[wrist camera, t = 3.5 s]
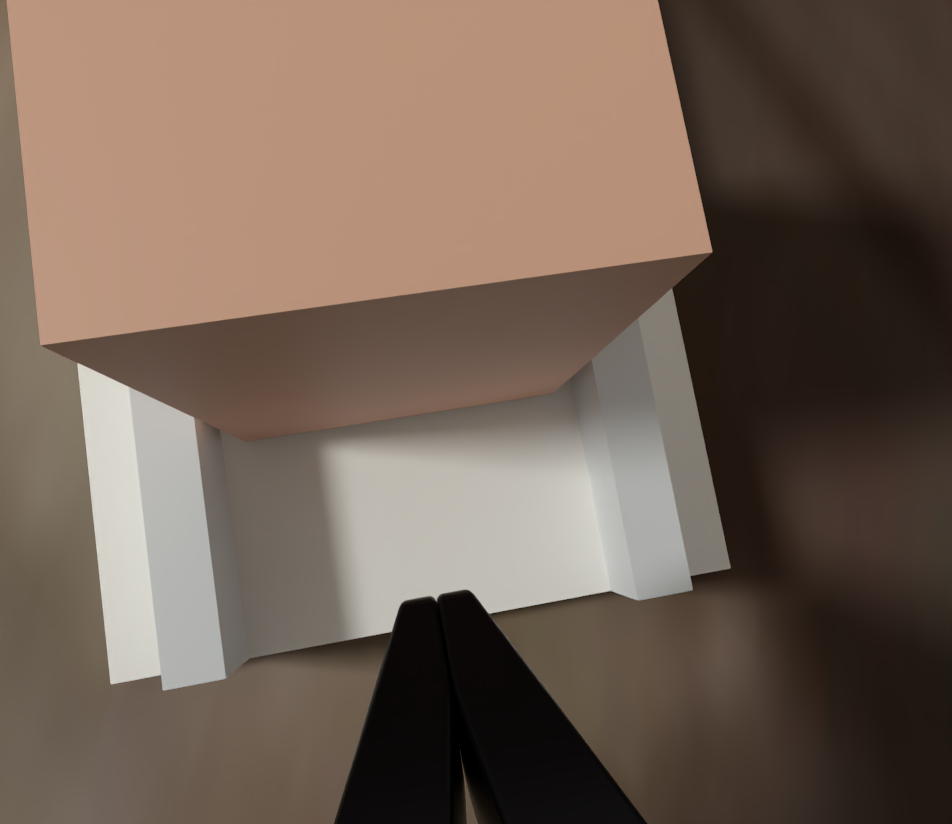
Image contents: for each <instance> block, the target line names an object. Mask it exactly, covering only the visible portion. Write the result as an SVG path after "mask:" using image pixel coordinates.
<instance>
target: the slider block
mask: <svg viewBox="0 0 952 824" xmlns="http://www.w3.org/2000/svg"><path fill="white" fill-rule="evenodd" d="M7 8H8V19H9V29H10V39H11V49H12V60H13V70H14V80H15V90H16V100H17V111H18V121H19V131H20V141H21V152H22V162H23V172H24V182H25V193H26V203H27V213H28V223H29V234H30V244H31V254H32V264H33V275H34V285H35V295H36V305H37V316H38V326H39V336H40V345H41V346H43V347H45V348H47V349H49V350H51V351H54V352H56V353H58V354H60V355H62V356H64V357H66V358H68V359H71V360H73V361H75V362H77V363H79V364H81V365H83V366H85V367H88V368H90V369H92V370H94V371H96V372H98V373H100V374H102V375H105V376H107V377H109V378H111V379H113V380H115V381H117V382H119V383H122V384H124V385H126V386H128V387H130V388H132V389H134V390H137V391H139V392H141V393H143V394H145V395H147V396H149V397H151V398H154V399H156V400H158V401H160V402H162V403H164V404H166V405H168V406H171V407H173V408H175V409H177V410H179V411H181V412H183V413H185V414H188V415H190V416H192V417H194V418H196V419H198V420H200V421H202V422H205V423H207V424H209V425H211V426H213V427H215V428H217V429H219V430H222V431H224V432H226V433H228V434H230V435H232V436H234V437H236V438H239V439H241V440H243V441H245V442H248V441H254V440H261V439H267V438H273V437H280V436H286V435H293V434H299V433H305V432H312V431H318V430H325V429H331V428H337V427H344V426H350V425H357V424H363V423H369V422H376V421H382V420H389V419H395V418H401V417H408V416H414V415H421V414H427V413H433V412H440V411H446V410H453V409H459V408H465V407H472V406H478V405H485V404H491V403H497V402H504V401H510V400H517V399H523V398H530V397H536V396H542V395H549V394H553V393H554V392H555V391H556V390H557V389H558V388H560V387H561V386H562V385H563V384H564V383H565V382H566V381H567V380H569V379H570V378H571V377H572V376H573V375H574V374H575V373H577V372H578V371H579V370H580V369H581V368H582V367H583V366H584V365H586V364H587V363H588V362H589V361H590V360H591V359H592V358H594V357H595V356H596V355H597V354H598V353H599V352H600V351H601V350H603V349H604V348H605V347H606V346H607V345H608V344H609V343H610V342H612V341H613V340H614V339H615V338H616V337H617V336H618V335H620V334H621V333H622V332H623V331H624V330H625V329H626V328H627V327H629V326H630V325H631V324H632V323H633V322H634V321H635V320H637V319H638V318H639V317H640V316H641V315H642V314H643V313H644V312H646V311H647V310H648V309H649V308H650V307H651V306H652V305H653V304H655V303H656V302H657V301H658V300H659V299H660V298H661V297H663V296H664V295H665V294H666V293H667V292H668V291H669V290H670V289H672V288H673V287H674V286H675V285H676V284H677V283H678V282H680V281H681V280H682V279H683V278H684V277H685V276H686V275H687V274H689V273H690V272H691V271H692V270H693V269H694V268H695V267H696V266H698V265H699V264H700V263H701V262H702V261H703V260H704V259H706V258H707V257H708V256H709V255H710V254H711V253H712V247H711V243H710V238H709V234H708V229H707V224H706V220H705V215H704V211H703V206H702V201H701V197H700V192H699V188H698V183H697V178H696V174H695V169H694V165H693V160H692V155H691V151H690V146H689V142H688V137H687V133H686V128H685V123H684V119H683V114H682V110H681V105H680V100H679V96H678V91H677V87H676V82H675V77H674V73H673V68H672V64H671V59H670V54H669V50H668V45H667V41H666V36H665V31H664V27H663V22H662V18H661V13H660V9H659V4H658V0H7Z"/></svg>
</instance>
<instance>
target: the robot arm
mask: <svg viewBox="0 0 952 824" xmlns="http://www.w3.org/2000/svg"><path fill="white" fill-rule="evenodd" d="M459 746H460V747H459ZM460 752H461V754H460ZM461 758H462V761H461ZM462 763H463V768H464V773H465V778H466V782H467V786H468V790H469V794H470V798H471V801H472V805H473V808H474V812H475V815H476V819H477V822H478V824H647V823H646V821H645V820H644V819H643V817H642V816H641V815H640V813H639V812H638V811H637V809H636V808H635V807H634V805H633V804H632V803H631V801H630V800H629V799H628V797H627V796H626V795H625V793H624V792H623V791H622V789H621V788H620V787H619V786H618V784H617V783H616V782H615V780H614V779H613V778H612V776H611V775H610V774H609V772H608V771H607V770H606V768H605V767H604V766H603V764H602V763H601V762H600V760H599V759H598V758H597V756H596V755H595V754H594V752H593V751H592V750H591V748H590V747H589V746H588V744H587V743H586V742H585V740H584V739H583V738H582V736H581V735H580V734H579V732H578V731H577V730H576V729H575V727H574V726H573V725H572V723H571V722H570V721H569V719H568V718H567V717H566V715H565V714H564V713H563V711H562V710H561V709H560V707H559V706H558V705H557V703H556V702H555V701H554V699H553V698H552V697H551V695H550V694H549V693H548V691H547V690H546V689H545V687H544V686H543V685H542V683H541V682H540V681H539V679H538V678H537V677H536V675H535V674H534V673H533V671H532V670H531V669H530V668H529V666H528V665H527V664H526V662H525V661H524V660H523V658H522V657H521V656H520V654H519V653H518V652H517V650H516V649H515V648H514V646H513V645H512V644H511V642H510V641H509V640H508V638H507V637H506V636H505V634H504V633H503V632H502V630H501V629H500V628H499V626H498V625H497V624H496V622H495V621H494V620H493V618H492V617H491V616H490V614H489V613H488V612H487V611H486V609H485V608H484V607H483V605H482V604H481V603H480V601H479V600H478V599H477V597H476V596H475V595H474V594H473V593H472V592H471V591H470V590H459V591H454V592H448V593H443V594H440V595H439V596H438V598H437V602H436V599H435V598H434V597H432V596H426V597H421V598H415V599H410V600H405V601H403V602H402V603H401V605H400V607H399V609H398V612H397V616H396V619H395V622H394V626H393V629H392V632H391V636H390V639H389V642H388V646H387V649H386V652H385V656H384V659H383V662H382V666H381V669H380V672H379V676H378V679H377V682H376V686H375V689H374V692H373V696H372V699H371V702H370V706H369V709H368V712H367V716H366V719H365V722H364V726H363V729H362V732H361V736H360V739H359V742H358V746H357V749H356V752H355V756H354V759H353V762H352V766H351V769H350V772H349V776H348V779H347V782H346V786H345V789H344V792H343V795H342V799H341V802H340V805H339V809H338V812H337V815H336V819H335V822H334V824H467V821H466V800H465V787H464V776H463V769H462Z"/></svg>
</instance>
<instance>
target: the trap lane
mask: <svg viewBox="0 0 952 824" xmlns="http://www.w3.org/2000/svg"><path fill="white" fill-rule="evenodd" d="M77 364H78V373H79V383H80V393H81V402H82V412H83V422H84V431H85V441H86V450H87V460H88V470H89V479H90V489H91V499H92V508H93V518H94V528H95V537H96V547H97V556H98V566H99V576H100V585H101V595H102V605H103V614H104V624H105V634H106V643H107V653H108V663H109V672H110V682H111V684H116V683H121V682H126V681H132V680H137V679H142V678H148V677H153V676H158V675H161V678H162V687H163V691H164V690H169V689H175V688H180V687H185V686H190V685H196V684H201V683H206V682H211V681H217V680H222V679H226V678H227V677H229V676H230V675H231V674H232V673H233V672H234V671H236V670H237V669H238V668H239V667H240V666H241V665H242V664H244V663H245V662H246V661H247V660H248V659H249V658H255V657H260V656H265V655H271V654H276V653H281V652H287V651H292V650H297V649H303V648H308V647H313V646H319V645H324V644H329V643H335V642H340V641H345V640H351V639H356V638H362V637H367V636H372V635H378V634H383V633H388V632H392V629H393V626H394V622H395V619H396V616H397V612H398V609H399V607H400V605H401V603H402V602H403V601H405V600H410V599H415V598H421V597H426V596H432V597H434V598H435V599H436V602H437V598H438V596H439V595H440V594H443V593H448V592H454V591H459V590H470V591H471V592H472V593H473V594H474V595H475V596H476V597H477V599H478V600H479V601H480V603H481V604H482V605H483V607H484V608H485V609H486V611H487V612H488V613H489V614H490V613H495V612H500V611H506V610H511V609H516V608H522V607H527V606H532V605H538V604H543V603H549V602H554V601H559V600H565V599H570V598H575V597H581V596H586V595H591V594H597V593H602V592H607V591H612V592H615V593H618V594H621V595H624V596H626V597H629V598H632V599H635V600H638V601H639V600H644V599H650V598H655V597H660V596H666V595H671V594H676V593H681V592H687V591H692V590H693V587H692V582H691V578H690V576H693V575H698V574H703V573H709V572H714V571H720V570H725V569H730V568H731V567H730V562H729V557H728V553H727V548H726V543H725V538H724V533H723V529H722V524H721V519H720V514H719V510H718V505H717V500H716V495H715V490H714V486H713V481H712V476H711V471H710V467H709V462H708V457H707V452H706V448H705V443H704V438H703V433H702V428H701V424H700V419H699V414H698V409H697V405H696V400H695V395H694V390H693V385H692V381H691V376H690V371H689V366H688V362H687V357H686V352H685V347H684V342H683V338H682V333H681V328H680V323H679V319H678V314H677V309H676V304H675V299H674V295H673V290H672V289H670V290H669V291H668V292H667V293H666V294H665V295H664V296H663V297H661V298H660V299H659V300H658V301H657V302H656V303H655V304H653V305H652V306H651V307H650V308H649V309H648V310H647V311H646V312H644V313H643V314H642V315H641V316H640V317H639V318H638V319H637V320H635V321H634V322H633V323H632V324H631V325H630V326H629V327H627V328H626V329H625V330H624V331H623V332H622V333H621V334H620V335H618V336H617V337H616V338H615V339H614V340H613V341H612V342H610V343H609V344H608V345H607V346H606V347H605V348H604V349H603V350H601V351H600V352H599V353H598V354H597V355H596V356H595V357H594V358H592V359H591V360H590V361H589V362H588V363H587V364H586V365H584V366H583V367H582V368H581V369H580V370H579V371H578V372H577V373H575V374H574V375H573V376H572V377H571V378H570V379H569V380H567V381H566V382H565V383H564V384H563V385H562V386H561V387H560V388H558V389H557V390H556V391H555V392H554V393H553V394H549V395H542V396H536V397H530V398H523V399H517V400H510V401H504V402H497V403H491V404H485V405H478V406H472V407H465V408H459V409H453V410H446V411H440V412H433V413H427V414H421V415H414V416H408V417H401V418H395V419H389V420H382V421H376V422H369V423H363V424H357V425H350V426H344V427H337V428H331V429H325V430H318V431H312V432H305V433H299V434H293V435H286V436H280V437H273V438H267V439H261V440H254V441H248V442H245V441H243V440H241V439H239V438H236V437H234V436H232V435H230V434H228V433H226V432H224V431H222V430H219V429H217V428H215V427H213V426H211V425H209V424H207V423H205V422H202V421H200V420H198V419H196V418H194V417H192V416H190V415H188V414H185V413H183V412H181V411H179V410H177V409H175V408H173V407H171V406H168V405H166V404H164V403H162V402H160V401H158V400H156V399H154V398H151V397H149V396H147V395H145V394H143V393H141V392H139V391H137V390H134V389H132V388H130V387H128V386H126V385H124V384H122V383H119V382H117V381H115V380H113V379H111V378H109V377H107V376H105V375H102V374H100V373H98V372H96V371H94V370H92V369H90V368H88V367H85V366H83V365H81V364H79V363H77Z"/></svg>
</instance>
